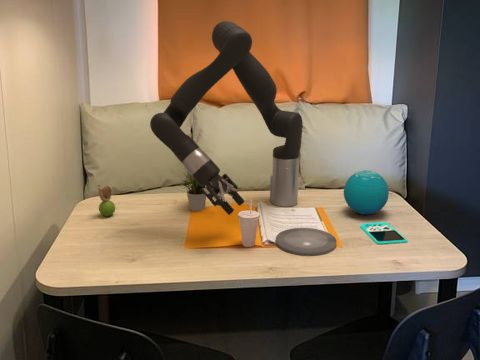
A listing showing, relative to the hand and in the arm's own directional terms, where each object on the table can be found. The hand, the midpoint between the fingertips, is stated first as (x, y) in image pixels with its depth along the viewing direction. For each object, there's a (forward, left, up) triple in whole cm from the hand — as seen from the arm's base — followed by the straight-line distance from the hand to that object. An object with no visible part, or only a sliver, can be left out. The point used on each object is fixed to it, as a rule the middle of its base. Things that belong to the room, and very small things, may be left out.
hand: (237, 208), depth 163 cm
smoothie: (+3, +2, -11) cm, 12 cm away
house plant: (-31, +9, -11) cm, 34 cm away
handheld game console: (+23, +40, -12) cm, 47 cm away
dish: (+13, +16, -11) cm, 23 cm away
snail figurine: (-45, -20, -11) cm, 50 cm away
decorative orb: (+8, +50, -11) cm, 52 cm away
